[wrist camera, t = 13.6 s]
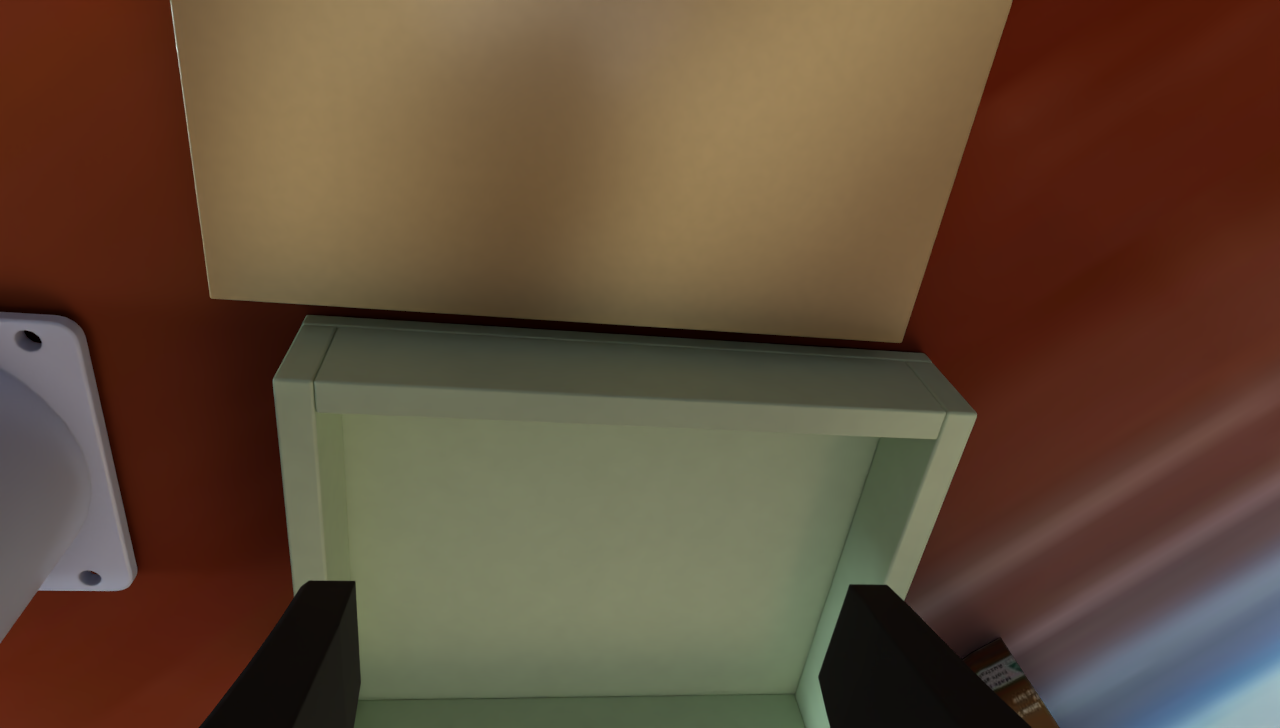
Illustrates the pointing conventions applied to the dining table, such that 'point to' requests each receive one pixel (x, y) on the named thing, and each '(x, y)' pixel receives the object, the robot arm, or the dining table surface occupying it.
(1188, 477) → the dining table surface
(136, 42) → the dining table surface
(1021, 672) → the food container
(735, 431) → the tray
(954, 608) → the dining table surface
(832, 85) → the board
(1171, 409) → the dining table surface
